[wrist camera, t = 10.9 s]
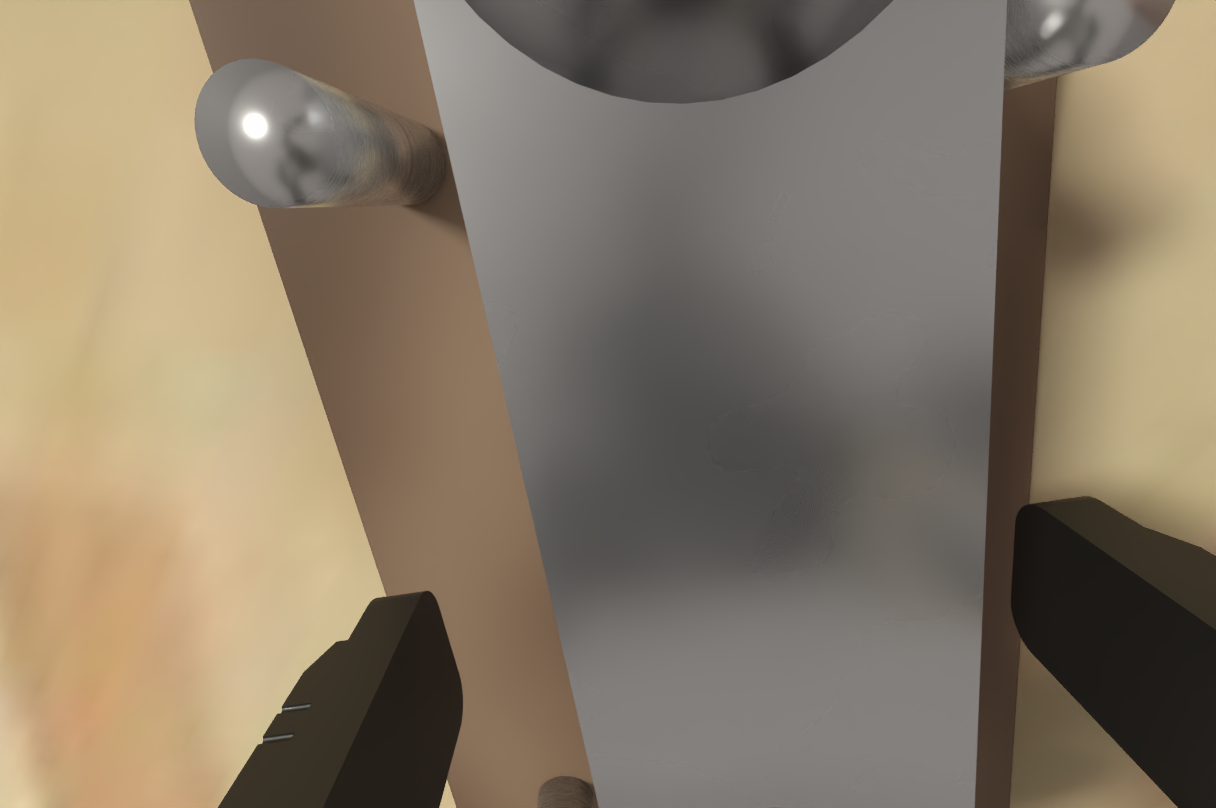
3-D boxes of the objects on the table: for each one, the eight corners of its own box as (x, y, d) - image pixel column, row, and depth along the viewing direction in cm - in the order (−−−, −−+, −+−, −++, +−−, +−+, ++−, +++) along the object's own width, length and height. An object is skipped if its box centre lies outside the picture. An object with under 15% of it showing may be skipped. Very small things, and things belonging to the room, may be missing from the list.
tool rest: (1025, -396, 8) (1687, -1331, 3) (973, 861, 16) (1143, 1165, 11) (163, -216, 9) (-428, -775, 4) (517, 917, 16) (480, 1231, 11)
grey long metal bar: (772, -210, 8) (1043, -862, 3) (837, 874, 14) (957, 1218, 9) (465, -149, 8) (258, -671, 3) (666, 895, 14) (698, 1243, 9)
